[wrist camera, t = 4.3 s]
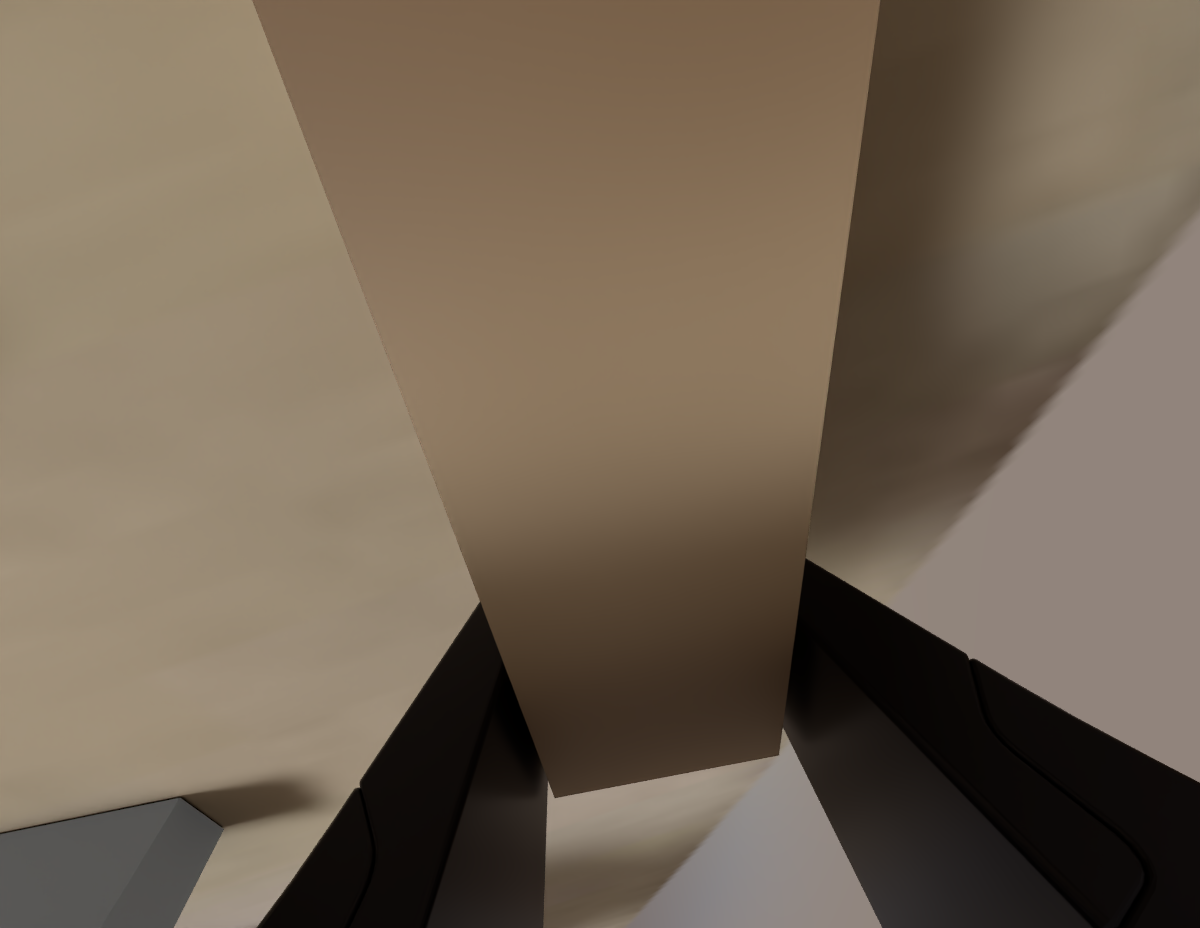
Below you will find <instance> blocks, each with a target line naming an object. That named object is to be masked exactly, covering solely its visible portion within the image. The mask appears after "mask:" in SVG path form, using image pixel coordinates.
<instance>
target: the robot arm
mask: <svg viewBox="0 0 1200 928" xmlns="http://www.w3.org/2000/svg"><path fill="white" fill-rule="evenodd" d="M783 728H784V730H785V732H786V734H787V736H788V738H789V740H790V742H791V744H792V746H793V748H794V750H795V753H796V754H797V757H798V759H799V761H800V763H801V765H802V767H803V769H804V771H805V773H806V775H807V777H808V779H809V781H810V783H811V785H812V787H813V789H814V791H815V793H816V795H817V797H818V799H819V801H820V803H821V805H822V807H823V809H824V811H825V813H826V815H827V817H828V819H829V821H830V823H831V825H832V827H833V829H834V831H835V833H836V835H837V837H838V839H839V841H840V843H841V845H842V847H843V849H844V851H845V853H846V855H847V857H848V859H849V861H850V863H851V865H852V867H853V869H854V871H855V874H856V876H857V878H858V880H859V881H860V883H861V886H862V888H863V890H864V892H865V893H866V896H867V898H868V900H869V902H870V904H871V906H872V908H873V910H874V912H875V914H876V916H877V918H878V920H879V922H880V924H881V926H882V928H1200V783H1199V782H1197V781H1195V780H1194V779H1192V778H1190V777H1188V776H1186V775H1184V774H1182V773H1180V772H1178V771H1176V770H1174V769H1172V768H1170V767H1168V766H1167V765H1165V764H1163V763H1161V762H1159V761H1157V760H1155V759H1153V758H1151V757H1149V756H1147V755H1146V754H1144V753H1142V752H1140V751H1138V750H1136V749H1134V748H1132V747H1131V746H1129V745H1127V744H1125V743H1123V742H1121V741H1119V740H1118V739H1116V738H1114V737H1112V736H1110V735H1108V734H1106V733H1104V732H1103V731H1101V730H1099V729H1097V728H1095V727H1093V726H1091V725H1089V724H1088V723H1086V722H1084V721H1082V720H1080V719H1078V718H1076V717H1075V716H1072V715H1071V714H1069V713H1067V712H1066V711H1064V710H1062V709H1061V708H1059V707H1057V706H1055V705H1054V704H1052V703H1050V702H1048V701H1047V700H1045V699H1043V698H1041V697H1040V696H1038V695H1036V694H1034V693H1032V692H1030V691H1029V690H1027V689H1026V688H1024V687H1022V686H1020V685H1019V684H1017V683H1015V682H1013V681H1012V680H1010V679H1008V678H1007V677H1005V676H1003V675H1001V674H1000V673H998V672H996V671H995V670H993V669H991V668H990V667H988V666H986V665H985V664H983V663H981V662H980V661H978V660H976V659H970V660H969V658H968V656H967V654H966V653H964V652H962V651H961V650H959V649H957V648H956V647H954V646H952V645H951V644H949V643H947V642H946V641H944V640H942V639H940V638H939V637H937V636H936V635H934V634H932V633H931V632H929V631H927V630H925V629H924V628H922V627H920V626H919V625H917V624H915V623H914V622H912V621H910V620H909V619H907V618H905V617H904V616H902V615H900V614H899V613H897V612H895V611H894V610H892V609H890V608H889V607H887V606H885V605H883V604H882V603H880V602H878V601H877V600H875V599H873V598H872V597H870V596H868V595H867V594H865V593H863V592H862V591H860V590H858V589H857V588H855V587H853V586H852V585H850V584H848V583H846V582H845V581H843V580H841V579H840V578H838V577H836V576H835V575H833V574H831V573H830V572H828V571H826V570H825V569H823V568H821V567H820V566H818V565H816V564H815V563H813V562H811V561H810V560H808V559H806V558H805V564H804V572H803V579H802V587H801V594H800V602H799V609H798V616H797V624H796V631H795V639H794V646H793V654H792V661H791V668H790V676H789V683H788V691H787V698H786V706H785V713H784V720H783ZM547 791H548V779H547V776H546V774H545V771H544V768H543V766H542V763H541V760H540V758H539V755H538V752H537V750H536V747H535V744H534V742H533V739H532V737H531V734H530V731H529V729H528V726H527V723H526V721H525V718H524V715H523V713H522V710H521V708H520V705H519V702H518V700H517V697H516V694H515V692H514V689H513V686H512V684H511V681H510V679H509V676H508V673H507V671H506V668H505V665H504V663H503V660H502V657H501V655H500V652H499V650H498V647H497V644H496V642H495V639H494V636H493V634H492V631H491V628H490V626H489V623H488V620H487V618H486V615H485V613H484V610H483V607H482V605H481V602H479V604H478V605H477V607H476V608H475V610H474V611H473V613H472V614H471V616H470V617H469V619H468V620H467V622H466V623H465V625H464V626H463V628H462V629H461V631H460V632H459V634H458V635H457V637H456V638H455V640H454V641H453V643H452V644H451V646H450V647H449V649H448V650H447V652H446V653H445V655H444V656H443V658H442V659H441V661H440V662H439V664H438V665H437V667H436V668H435V670H434V671H433V673H432V674H431V676H430V677H429V679H428V680H427V682H426V683H425V685H424V686H423V688H422V689H421V691H420V692H419V694H418V695H417V697H416V698H415V700H414V701H413V703H412V704H411V706H410V707H409V709H408V710H407V712H406V713H405V715H404V716H403V718H402V719H401V721H400V722H399V724H398V725H397V726H396V728H395V729H394V731H393V732H392V734H391V735H390V737H389V738H388V740H387V741H386V743H385V744H384V746H383V747H382V749H381V750H380V752H379V753H378V755H377V756H376V758H375V759H374V761H373V762H372V764H371V765H370V767H369V768H368V770H367V771H366V773H365V774H364V776H363V777H362V779H361V780H360V788H356V789H354V790H353V792H352V793H351V795H350V796H349V798H348V799H347V801H346V802H345V804H344V805H343V807H342V808H341V810H340V811H339V813H338V814H337V816H336V817H335V819H334V820H333V822H332V823H331V825H330V826H329V827H328V829H327V830H326V832H325V833H324V835H323V836H322V838H321V839H320V840H319V842H318V843H317V845H316V846H315V848H314V849H313V851H312V852H311V853H310V855H309V856H308V858H307V859H306V861H305V862H304V863H303V865H302V866H301V868H300V869H299V871H298V872H297V874H296V875H295V876H294V878H293V879H292V881H291V882H290V884H289V885H288V886H287V888H286V889H285V890H284V892H283V893H282V894H281V896H280V897H279V898H278V900H277V901H276V902H275V904H274V905H273V906H272V908H271V909H270V910H269V912H268V913H267V914H266V916H265V917H264V919H263V920H262V921H261V923H260V924H259V925H258V927H257V928H543V917H544V885H545V854H546V822H547Z"/></svg>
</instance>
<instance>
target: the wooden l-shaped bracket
mask: <svg viewBox="0 0 1200 928" xmlns="http://www.w3.org/2000/svg"><path fill="white" fill-rule="evenodd" d="M253 3H254V6H255V8H256V11H257V14H258V16H259V19H260V21H261V24H262V27H263V29H264V32H265V35H266V37H267V40H268V43H269V45H270V48H271V51H272V53H273V56H274V58H275V61H276V64H277V66H278V69H279V72H280V74H281V77H282V80H283V82H284V85H285V87H286V90H287V93H288V95H289V98H290V101H291V103H292V106H293V109H294V111H295V114H296V116H297V119H298V122H299V124H300V127H301V130H302V132H303V135H304V138H305V140H306V143H307V146H308V148H309V151H310V153H311V156H312V159H313V161H314V164H315V167H316V169H317V172H318V175H319V177H320V180H321V182H322V185H323V188H324V190H325V193H326V196H327V198H328V201H329V204H330V206H331V209H332V211H333V214H334V217H335V219H336V222H337V225H338V227H339V230H340V233H341V235H342V238H343V240H344V243H345V246H346V248H347V251H348V254H349V256H350V259H351V262H352V264H353V267H354V270H355V272H356V275H357V277H358V280H359V283H360V285H361V288H362V291H363V293H364V296H365V299H366V301H367V304H368V306H369V309H370V312H371V314H372V317H373V320H374V322H375V325H376V328H377V330H378V333H379V335H380V338H381V341H382V343H383V346H384V349H385V351H386V354H387V357H388V359H389V362H390V365H391V367H392V370H393V372H394V375H395V378H396V380H397V383H398V386H399V388H400V391H401V394H402V396H403V399H404V401H405V404H406V407H407V409H408V412H409V415H410V417H411V420H412V423H413V425H414V428H415V430H416V433H417V436H418V438H419V441H420V444H421V446H422V449H423V452H424V454H425V457H426V460H427V462H428V465H429V467H430V470H431V473H432V475H433V478H434V481H435V483H436V486H437V489H438V491H439V494H440V496H441V499H442V502H443V504H444V507H445V510H446V512H447V515H448V518H449V520H450V523H451V525H452V528H453V531H454V533H455V536H456V539H457V541H458V544H459V547H460V549H461V552H462V555H463V557H464V560H465V562H466V565H467V568H468V570H469V573H470V576H471V578H472V581H473V584H474V586H475V589H476V591H477V594H478V597H479V599H480V602H481V605H482V607H483V610H484V613H485V615H486V618H487V620H488V623H489V626H490V628H491V631H492V634H493V636H494V639H495V642H496V644H497V647H498V650H499V652H500V655H501V657H502V660H503V663H504V665H505V668H506V671H507V673H508V676H509V679H510V681H511V684H512V686H513V689H514V692H515V694H516V697H517V700H518V702H519V705H520V708H521V710H522V713H523V715H524V718H525V721H526V723H527V726H528V729H529V731H530V734H531V737H532V739H533V742H534V744H535V747H536V750H537V752H538V755H539V758H540V760H541V763H542V766H543V768H544V771H545V774H546V776H547V779H548V781H549V784H550V787H551V789H552V792H553V795H554V797H555V798H558V797H563V796H568V795H573V794H579V793H584V792H589V791H594V790H600V789H605V788H610V787H615V786H621V785H626V784H631V783H636V782H642V781H647V780H652V779H657V778H662V777H668V776H673V775H678V774H683V773H689V772H694V771H699V770H704V769H710V768H715V767H720V766H725V765H731V764H736V763H741V762H746V761H752V760H757V759H762V758H767V757H773V756H778V755H779V750H780V743H781V735H782V728H783V720H784V713H785V706H786V698H787V691H788V683H789V676H790V668H791V661H792V654H793V646H794V639H795V631H796V624H797V616H798V609H799V602H800V594H801V587H802V579H803V572H804V564H805V557H806V550H807V542H808V535H809V527H810V520H811V512H812V505H813V498H814V490H815V483H816V475H817V468H818V460H819V453H820V445H821V438H822V431H823V423H824V416H825V408H826V401H827V393H828V386H829V379H830V371H831V364H832V356H833V349H834V341H835V334H836V327H837V319H838V312H839V304H840V297H841V289H842V282H843V275H844V267H845V260H846V252H847V245H848V237H849V230H850V223H851V215H852V208H853V200H854V193H855V185H856V178H857V171H858V163H859V156H860V148H861V141H862V133H863V126H864V119H865V111H866V104H867V96H868V89H869V81H870V74H871V67H872V59H873V52H874V44H875V37H876V29H877V22H878V15H879V7H880V0H253Z"/></svg>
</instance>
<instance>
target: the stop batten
mask: <svg viewBox="0 0 1200 928" xmlns="http://www.w3.org/2000/svg"><path fill="white" fill-rule="evenodd" d="M223 830H224V829H223V828H222V827H220V826H219V825H217V824H216V823H215V822H213V821H212V820H210V819H209V818H208V817H206V816H205V815H204V814H202V813H201V812H199V811H198V810H197V809H195V808H194V807H192V806H191V805H190V804H188V803H187V802H185V801H184V800H183V799H181V798H176V799H171V800H166V801H161V802H156V803H151V804H146V805H142V806H137V807H132V808H127V809H122V810H117V811H112V812H107V813H102V814H97V815H92V816H88V817H83V818H78V819H73V820H68V821H63V822H58V823H53V824H48V825H43V826H38V827H33V828H29V829H24V830H19V831H14V832H9V833H4V834H0V928H174V926H175V924H176V922H177V920H178V918H179V916H180V914H181V912H182V910H183V908H184V906H185V904H186V902H187V900H188V898H189V896H190V895H191V893H192V891H193V889H194V887H195V885H196V883H197V881H198V879H199V877H200V875H201V873H202V871H203V869H204V867H205V865H206V863H207V861H208V859H209V857H210V855H211V853H212V851H213V849H214V847H215V845H216V844H217V842H218V840H219V838H220V836H221V834H222V832H223Z"/></svg>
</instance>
